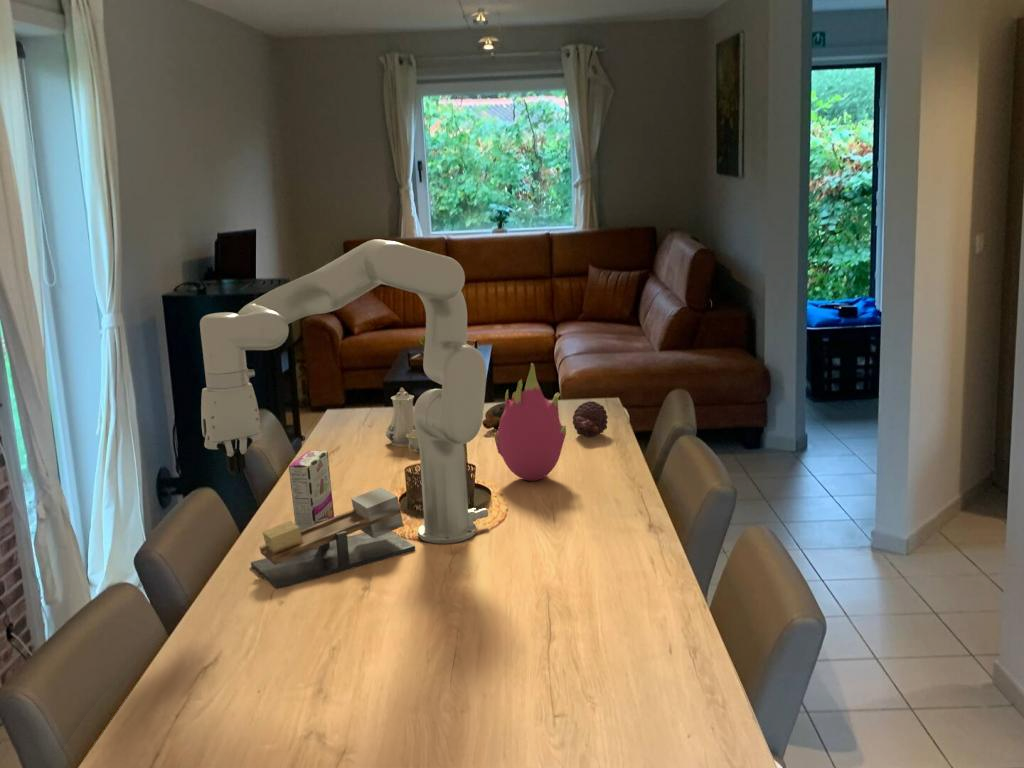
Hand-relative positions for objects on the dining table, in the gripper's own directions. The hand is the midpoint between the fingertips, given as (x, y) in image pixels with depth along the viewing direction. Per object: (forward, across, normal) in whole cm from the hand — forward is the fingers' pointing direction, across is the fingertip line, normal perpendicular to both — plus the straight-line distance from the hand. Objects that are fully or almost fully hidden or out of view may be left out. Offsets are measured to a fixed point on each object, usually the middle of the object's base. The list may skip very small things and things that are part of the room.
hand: (237, 473), depth 192 cm
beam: (+19, -18, 0) cm, 27 cm away
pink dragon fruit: (+22, -78, -15) cm, 82 cm away
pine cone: (+22, -113, -36) cm, 121 cm away
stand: (+22, -18, 0) cm, 29 cm away
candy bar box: (+22, -22, -19) cm, 37 cm away
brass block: (+17, -8, 0) cm, 19 cm away
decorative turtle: (+22, -99, -59) cm, 117 cm away
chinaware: (+22, -72, -64) cm, 99 cm away
